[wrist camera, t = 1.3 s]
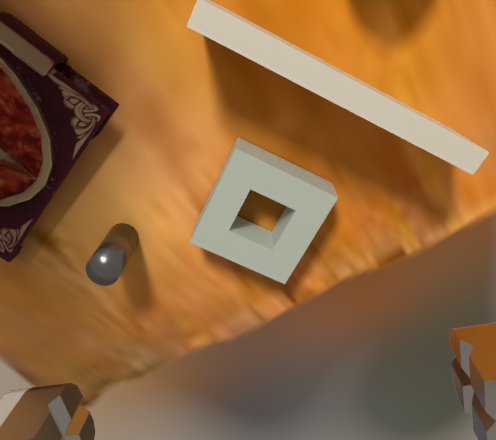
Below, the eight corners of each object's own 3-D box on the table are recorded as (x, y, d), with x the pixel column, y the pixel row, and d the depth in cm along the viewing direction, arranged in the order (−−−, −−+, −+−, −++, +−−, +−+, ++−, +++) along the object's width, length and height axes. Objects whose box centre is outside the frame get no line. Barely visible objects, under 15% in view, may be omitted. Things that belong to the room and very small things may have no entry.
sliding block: (195, 224, 47) (189, 242, 43) (237, 136, 43) (235, 148, 39) (283, 263, 48) (284, 284, 45) (331, 182, 44) (338, 197, 41)
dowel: (105, 242, 48) (81, 277, 42) (115, 218, 47) (92, 251, 41) (132, 253, 49) (113, 290, 42) (142, 230, 47) (124, 264, 41)
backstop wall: (200, 23, 39) (186, 26, 32) (210, 0, 39) (198, -3, 31) (437, 147, 43) (472, 175, 36) (450, 128, 42) (489, 152, 35)
